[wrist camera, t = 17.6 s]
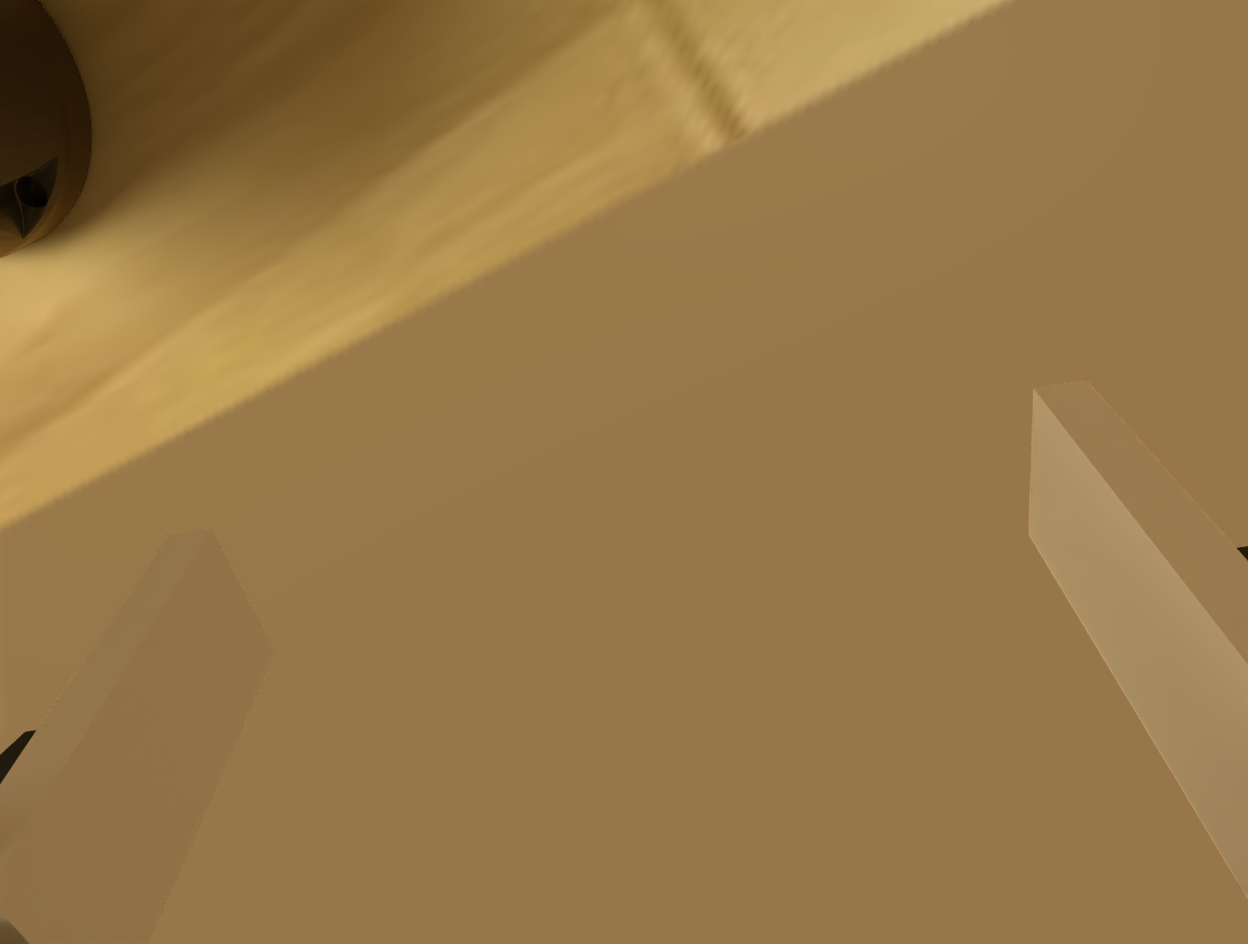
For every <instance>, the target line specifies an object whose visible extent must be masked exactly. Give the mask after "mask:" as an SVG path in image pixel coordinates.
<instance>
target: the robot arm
mask: <svg viewBox="0 0 1248 944" xmlns="http://www.w3.org/2000/svg"><path fill="white" fill-rule="evenodd" d="M90 153H91V125H90V116H89V109H88V104H87V99H86V95H85V91H84V88H83V84H82V81H81V78H80V75H79V72H78V70H77V67H76V65H75V62H74V60H73V58H72V55H71V53H70V51H69V49H68V47H67V45H66V43H65V41H64V39H63V38H62V36H61V34H60V32H59V31H58V29H57V27H56V26H55V24H54V23H53V21H52V20H51V18H50V17H49V15H48V14H47V12H46V11H45V9H44V8H43V7H42V5H41V4H40V3H39V1H38V0H0V258H2V257H4V256H7V255H9V254H11V253H13V252H15V251H17V250H19V249H21V248H23V247H25V246H27V245H29V244H31V243H33V242H35V241H37V240H39V239H40V238H42V237H43V236H45V235H46V234H48V233H49V232H50V231H52V230H53V229H54V228H55V227H56V226H57V225H58V224H59V223H60V222H61V221H62V220H63V219H64V218H65V217H66V215H67V214H68V213H69V211H70V210H71V209H72V207H73V206H74V204H75V202H76V200H77V199H78V197H79V194H80V192H81V190H82V188H83V185H84V182H85V179H86V175H87V171H88V167H89V161H90ZM1032 417H1033V418H1032V444H1031V475H1030V503H1029V532H1028V533H1029V534H1028V535H1029V536H1030V538H1031V540H1032V541H1033V543H1034V545H1035V546H1036V548H1037V550H1038V551H1039V553H1040V554H1041V556H1042V558H1043V559H1044V561H1045V563H1046V565H1047V566H1048V568H1049V570H1050V571H1051V573H1052V575H1053V576H1054V578H1055V579H1056V581H1057V583H1058V584H1059V586H1060V588H1061V589H1062V591H1063V593H1064V594H1065V596H1066V598H1067V599H1068V601H1069V603H1070V604H1071V606H1072V608H1073V609H1074V611H1075V613H1076V614H1077V616H1078V618H1079V619H1080V621H1081V623H1082V624H1083V626H1084V628H1085V629H1086V631H1087V633H1088V634H1089V636H1090V638H1091V639H1092V641H1093V643H1094V644H1095V646H1096V647H1097V649H1098V651H1099V653H1100V654H1101V656H1102V657H1103V659H1104V661H1105V663H1106V664H1107V666H1108V668H1109V669H1110V671H1111V673H1112V674H1113V676H1114V678H1115V679H1116V681H1117V683H1118V684H1119V686H1120V687H1121V689H1122V691H1123V693H1124V694H1125V696H1126V697H1127V699H1128V701H1129V702H1130V704H1131V706H1132V707H1133V709H1134V711H1135V712H1136V714H1137V716H1138V717H1139V719H1140V721H1141V722H1142V724H1143V726H1144V727H1145V729H1146V731H1147V732H1148V734H1149V735H1150V737H1151V739H1152V741H1153V742H1154V744H1155V746H1156V747H1157V749H1158V751H1159V752H1160V754H1161V756H1162V757H1163V759H1164V761H1165V762H1166V764H1167V766H1168V767H1169V769H1170V770H1171V772H1172V774H1173V775H1174V777H1175V779H1176V781H1177V782H1178V784H1179V785H1180V787H1181V789H1182V791H1183V792H1184V794H1185V796H1186V797H1187V799H1188V800H1189V802H1190V804H1191V805H1192V807H1193V809H1194V810H1195V812H1196V814H1197V816H1198V817H1199V819H1200V820H1201V822H1202V824H1203V825H1204V827H1205V829H1206V830H1207V832H1208V833H1209V835H1210V837H1211V839H1212V840H1213V842H1214V844H1215V845H1216V847H1217V849H1218V850H1219V852H1220V854H1221V855H1222V857H1223V859H1224V860H1225V862H1226V864H1227V865H1228V867H1229V868H1230V870H1231V872H1232V874H1233V875H1234V877H1235V879H1236V880H1237V882H1238V884H1239V885H1240V887H1241V888H1242V890H1243V892H1244V894H1245V895H1246V897H1247V899H1248V546H1247V547H1240V548H1236V547H1235V546H1234V545H1233V544H1232V543H1231V542H1230V541H1229V539H1228V538H1227V537H1226V536H1225V535H1224V534H1223V533H1222V531H1220V529H1219V528H1218V527H1217V526H1216V525H1215V524H1214V522H1213V521H1212V520H1211V519H1210V518H1209V517H1208V516H1207V515H1206V514H1205V512H1204V511H1203V510H1202V509H1201V508H1200V507H1199V506H1198V504H1197V503H1196V502H1195V501H1194V500H1193V499H1192V498H1191V497H1190V496H1189V494H1188V493H1187V492H1186V491H1185V490H1184V489H1183V488H1182V487H1181V485H1180V484H1179V483H1178V482H1177V481H1176V480H1175V479H1174V478H1173V476H1172V475H1171V474H1170V473H1169V472H1168V471H1167V470H1166V469H1165V468H1164V466H1163V465H1162V464H1161V463H1160V462H1159V461H1158V460H1157V458H1156V457H1155V456H1154V455H1153V454H1152V453H1151V452H1150V451H1149V450H1148V448H1147V447H1146V446H1145V445H1144V444H1143V443H1142V442H1141V441H1140V439H1139V438H1138V437H1137V436H1136V435H1135V434H1134V433H1133V432H1132V430H1131V429H1130V428H1129V427H1128V426H1127V425H1126V424H1125V423H1124V421H1123V420H1122V419H1121V418H1120V417H1119V416H1118V415H1117V414H1116V412H1115V411H1114V410H1113V409H1112V408H1111V407H1110V406H1109V405H1108V403H1107V402H1106V401H1105V400H1104V399H1103V398H1102V397H1101V396H1100V394H1099V393H1098V392H1097V391H1096V390H1095V389H1094V388H1093V387H1092V385H1091V384H1090V383H1089V382H1088V381H1087V380H1086V379H1085V380H1079V381H1073V382H1067V383H1062V384H1056V385H1050V386H1044V387H1038V388H1034V389H1033V413H1032ZM274 653H275V649H274V647H273V645H272V643H271V641H270V639H269V637H268V635H267V633H266V632H265V630H264V628H263V626H262V624H261V622H260V620H259V618H258V616H257V615H256V613H255V610H254V609H253V607H252V605H251V603H250V601H249V599H248V597H247V595H246V594H245V591H244V590H243V588H242V586H241V584H240V582H239V580H238V578H237V576H236V574H235V573H234V570H233V569H232V567H231V565H230V563H229V561H228V559H227V557H226V555H225V553H224V551H223V550H222V548H221V546H220V544H219V542H218V540H217V538H216V536H215V534H214V532H213V530H212V529H211V528H206V529H200V530H194V531H188V532H182V533H176V534H170V535H167V536H166V538H165V539H164V541H163V542H162V544H161V545H160V547H159V548H158V550H157V551H156V553H155V554H154V556H153V557H152V559H151V560H150V562H149V563H148V565H147V566H146V568H145V569H144V571H143V572H142V574H141V575H140V576H139V578H138V580H137V581H136V582H135V584H134V585H133V587H132V588H131V590H130V591H129V593H128V594H127V596H126V597H125V599H124V601H123V602H122V603H121V605H120V606H119V608H118V610H117V611H116V612H115V614H114V615H113V617H112V618H111V620H110V621H109V623H108V624H107V626H106V628H105V629H104V630H103V632H102V633H101V635H100V636H99V638H98V639H97V641H96V642H95V644H94V645H93V647H92V648H91V650H90V651H89V653H88V654H87V656H86V657H85V659H84V660H83V662H82V663H81V665H80V666H79V668H78V669H77V671H76V672H75V674H74V675H73V677H72V678H71V680H70V681H69V683H68V684H67V686H66V687H65V689H64V690H63V691H62V693H61V694H60V696H59V698H58V699H57V700H56V702H55V703H54V705H53V706H52V708H51V709H50V711H49V712H48V714H47V715H46V717H45V718H44V720H43V721H42V723H41V724H40V726H39V727H38V729H37V730H34V731H27V732H25V733H23V734H22V735H21V736H20V737H19V738H18V739H17V740H16V741H15V742H14V743H13V744H11V745H10V746H9V747H8V748H7V749H6V750H5V751H4V752H3V753H2V754H1V755H0V944H148V943H149V941H150V938H151V936H152V933H153V931H154V929H155V927H156V924H157V922H158V920H159V918H160V915H161V913H162V911H163V908H164V906H165V904H166V901H167V899H168V897H169V895H170V892H171V890H172V888H173V885H174V883H175V881H176V879H177V876H178V874H179V871H180V869H181V867H182V865H183V862H184V860H185V858H186V855H187V853H188V851H189V848H190V846H191V844H192V842H193V839H194V837H195V835H196V832H197V830H198V828H199V826H200V823H201V821H202V819H203V816H204V814H205V812H206V810H207V807H208V805H209V803H210V800H211V798H212V796H213V794H214V791H215V789H216V787H217V784H218V782H219V780H220V777H221V775H222V772H223V770H224V768H225V766H226V764H227V761H228V759H229V757H230V754H231V752H232V750H233V748H234V745H235V743H236V741H237V738H238V736H239V734H240V732H241V729H242V727H243V725H244V722H245V720H246V718H247V715H248V713H249V711H250V709H251V706H252V704H253V701H254V699H255V697H256V695H257V692H258V690H259V688H260V686H261V683H262V681H263V678H264V676H265V674H266V672H267V669H268V667H269V665H270V663H271V660H272V658H273V656H274Z"/></svg>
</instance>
